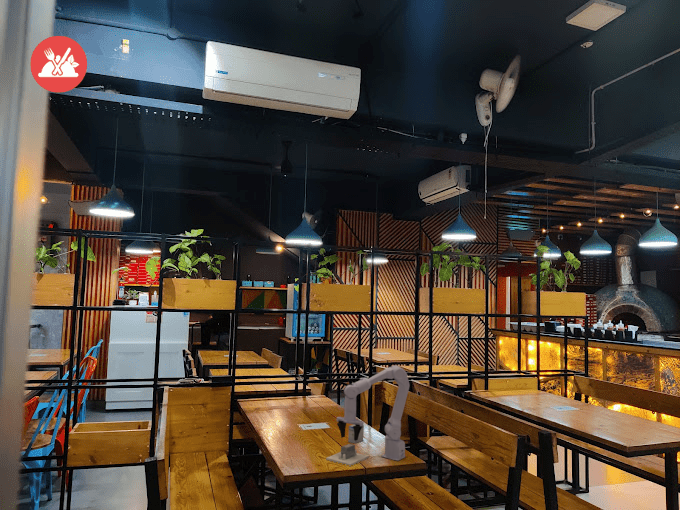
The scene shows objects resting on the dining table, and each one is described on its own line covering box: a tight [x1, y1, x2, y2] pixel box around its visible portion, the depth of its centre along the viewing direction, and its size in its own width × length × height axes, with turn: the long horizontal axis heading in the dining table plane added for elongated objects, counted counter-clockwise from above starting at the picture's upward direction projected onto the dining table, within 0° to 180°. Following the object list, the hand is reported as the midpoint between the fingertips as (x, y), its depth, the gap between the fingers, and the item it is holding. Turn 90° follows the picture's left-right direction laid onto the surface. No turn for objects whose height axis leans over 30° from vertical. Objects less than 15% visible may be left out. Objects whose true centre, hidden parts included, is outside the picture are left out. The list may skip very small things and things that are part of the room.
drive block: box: [340, 443, 356, 459], centre depth 242 cm, size 4×7×5 cm, turn 145°
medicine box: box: [348, 424, 365, 445], centre depth 272 cm, size 8×4×9 cm, turn 141°
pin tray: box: [325, 448, 370, 467], centre depth 242 cm, size 14×16×4 cm
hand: (349, 438), depth 245 cm, fingers open, 7 cm apart
